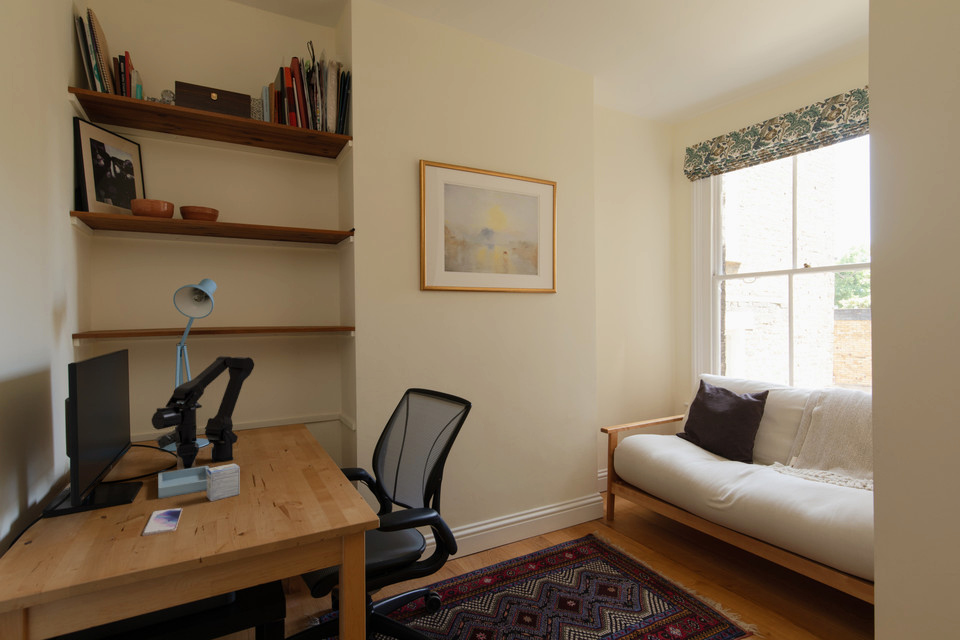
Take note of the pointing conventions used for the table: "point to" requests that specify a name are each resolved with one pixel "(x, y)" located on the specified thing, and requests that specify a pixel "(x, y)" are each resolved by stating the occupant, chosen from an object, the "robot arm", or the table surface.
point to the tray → (182, 481)
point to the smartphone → (163, 521)
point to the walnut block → (180, 463)
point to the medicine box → (223, 481)
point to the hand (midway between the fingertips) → (186, 468)
